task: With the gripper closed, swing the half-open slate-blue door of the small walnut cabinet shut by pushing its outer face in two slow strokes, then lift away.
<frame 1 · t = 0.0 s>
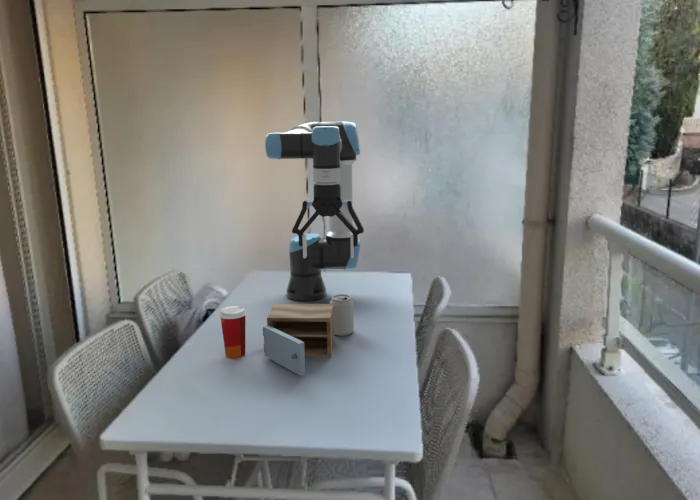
hand: (328, 257, 163), 28 cm above the table, fingers open, 13 cm apart
door: (280, 349, 156), point 5 cm above the table, hinge at 45.0°
can: (342, 332, 181), on the table
paper cup: (235, 355, 165), on the table
cabinet: (302, 348, 169), on the table
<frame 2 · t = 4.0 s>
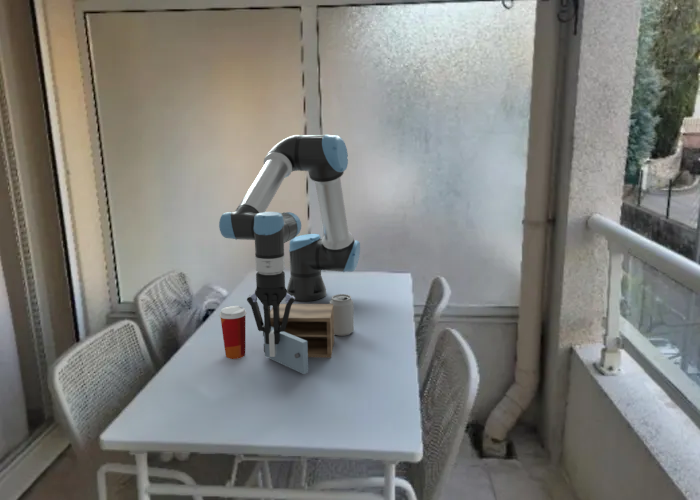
hand: (273, 354, 155), 4 cm above the table, fingers closed
door: (282, 348, 156), point 5 cm above the table, hinge at 41.4°, touching gripper
everything else where it was.
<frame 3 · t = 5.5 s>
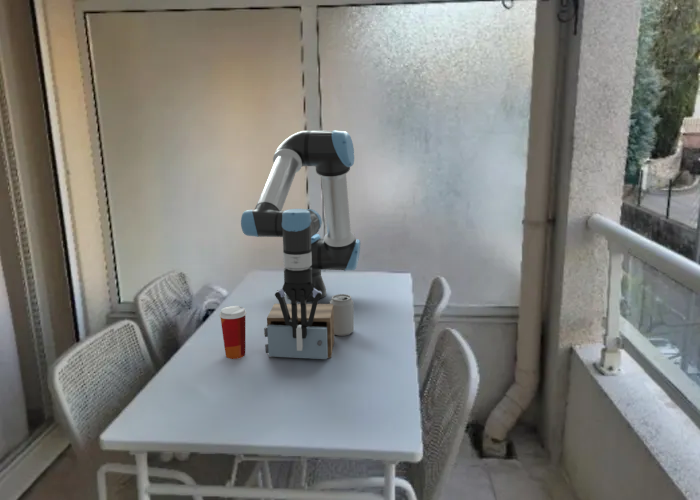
hand: (300, 348, 158), 5 cm above the table, fingers closed
door: (295, 342, 160), point 5 cm above the table, hinge at 5.1°, touching gripper
everything else where it was.
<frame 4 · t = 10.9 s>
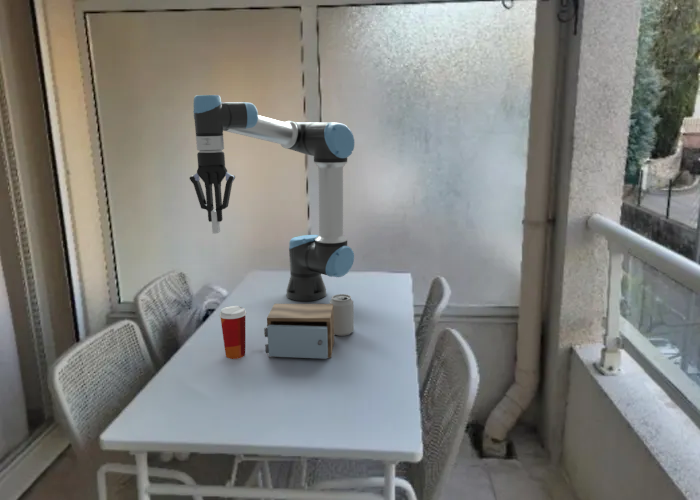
hand: (216, 232, 167), 34 cm above the table, fingers closed
door: (295, 342, 160), point 5 cm above the table, hinge at 3.9°
everything else where it was.
at the end: door at +4° (first picture: +45°); door touching nothing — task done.
